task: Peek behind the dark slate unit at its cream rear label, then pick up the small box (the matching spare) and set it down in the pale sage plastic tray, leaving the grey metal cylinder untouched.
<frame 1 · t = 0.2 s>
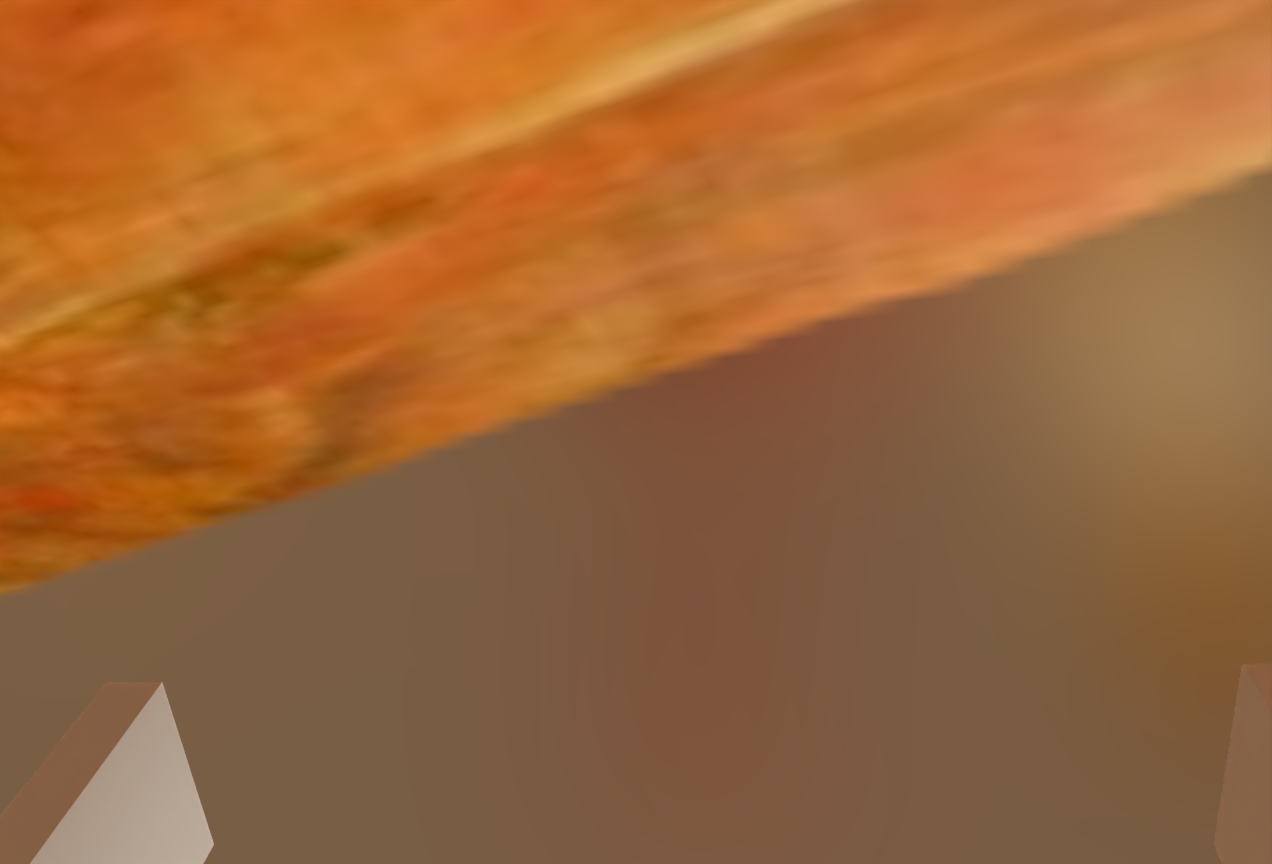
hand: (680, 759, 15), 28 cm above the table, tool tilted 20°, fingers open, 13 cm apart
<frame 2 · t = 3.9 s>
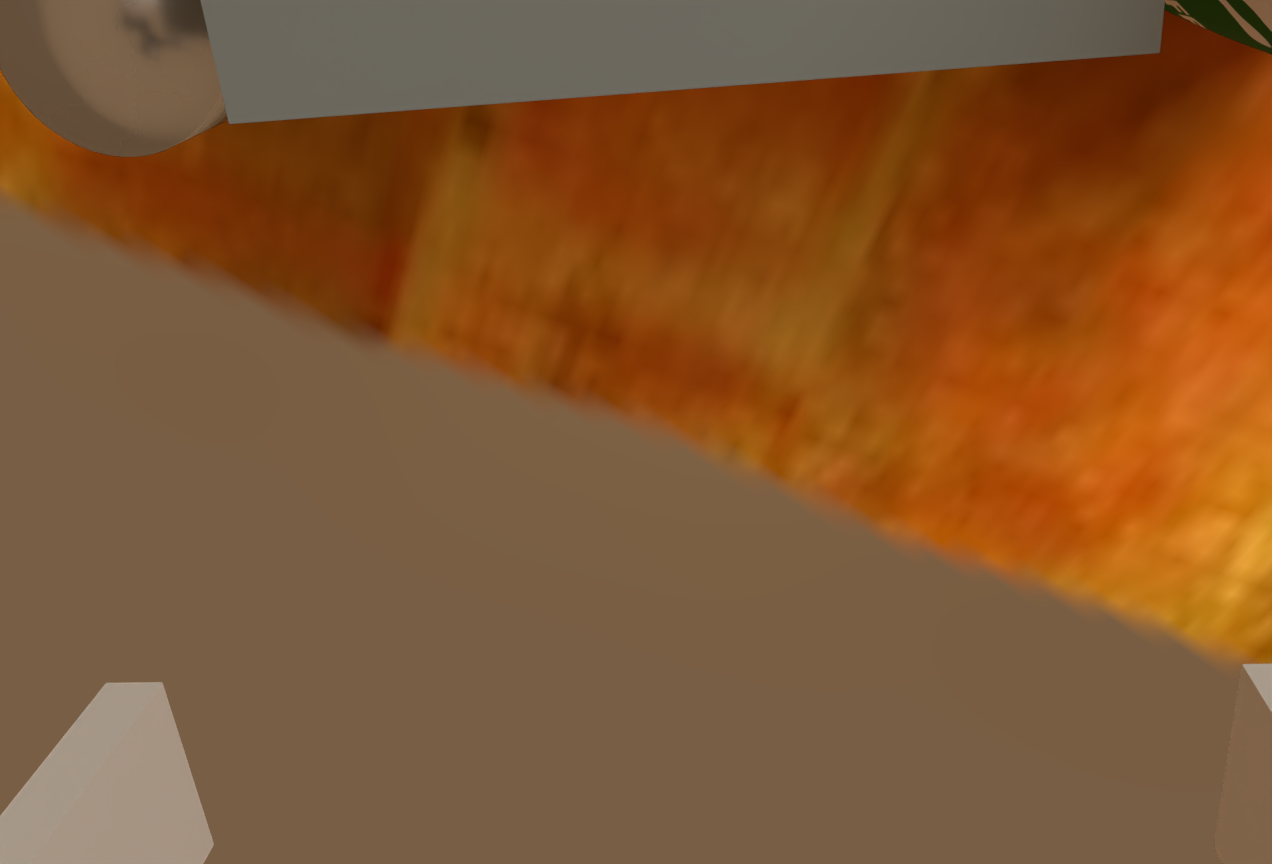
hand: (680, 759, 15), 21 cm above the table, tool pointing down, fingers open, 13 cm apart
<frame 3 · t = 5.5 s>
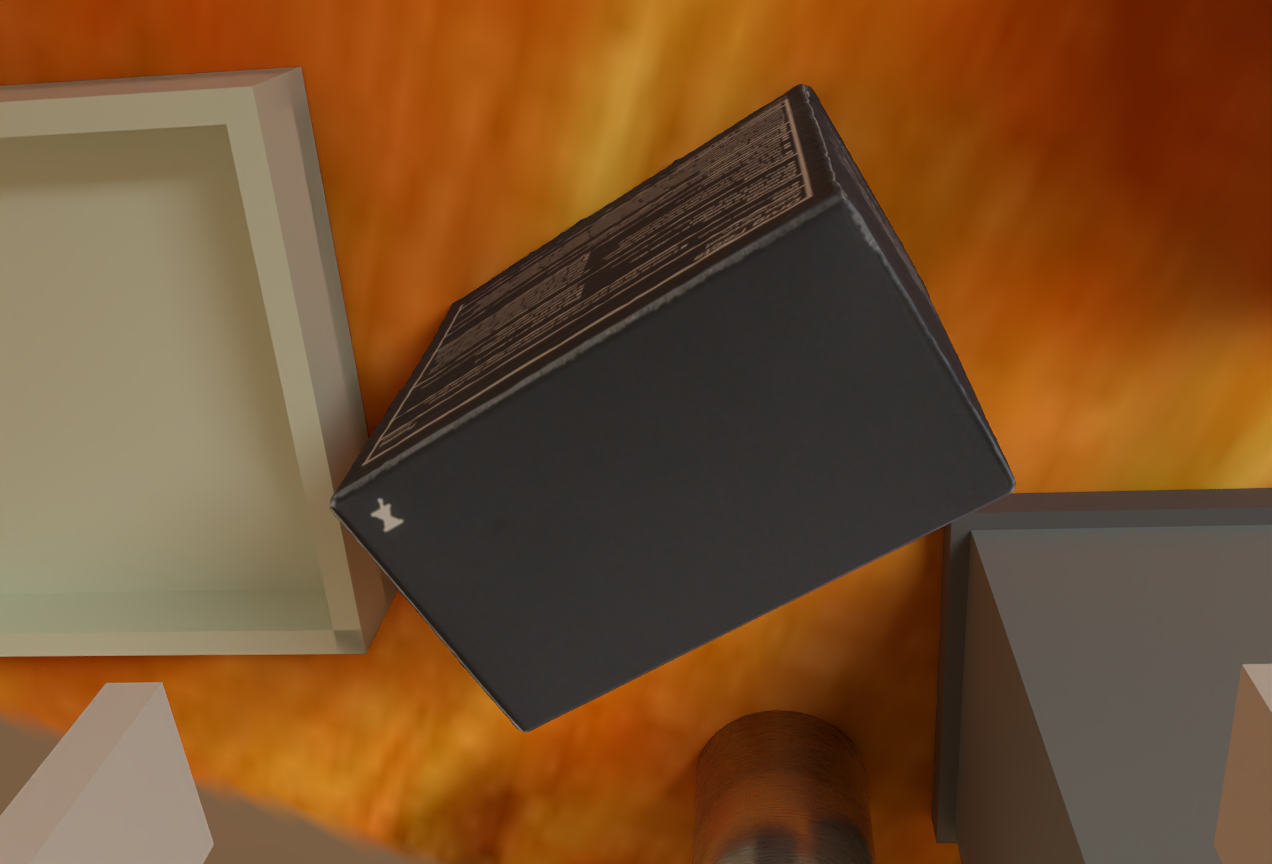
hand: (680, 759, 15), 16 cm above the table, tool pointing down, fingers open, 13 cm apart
small box: (687, 301, 30), on the table
unit: (1217, 666, 32), on the table
grey cylinder: (780, 777, 35), on the table
tray: (55, 365, 32), on the table
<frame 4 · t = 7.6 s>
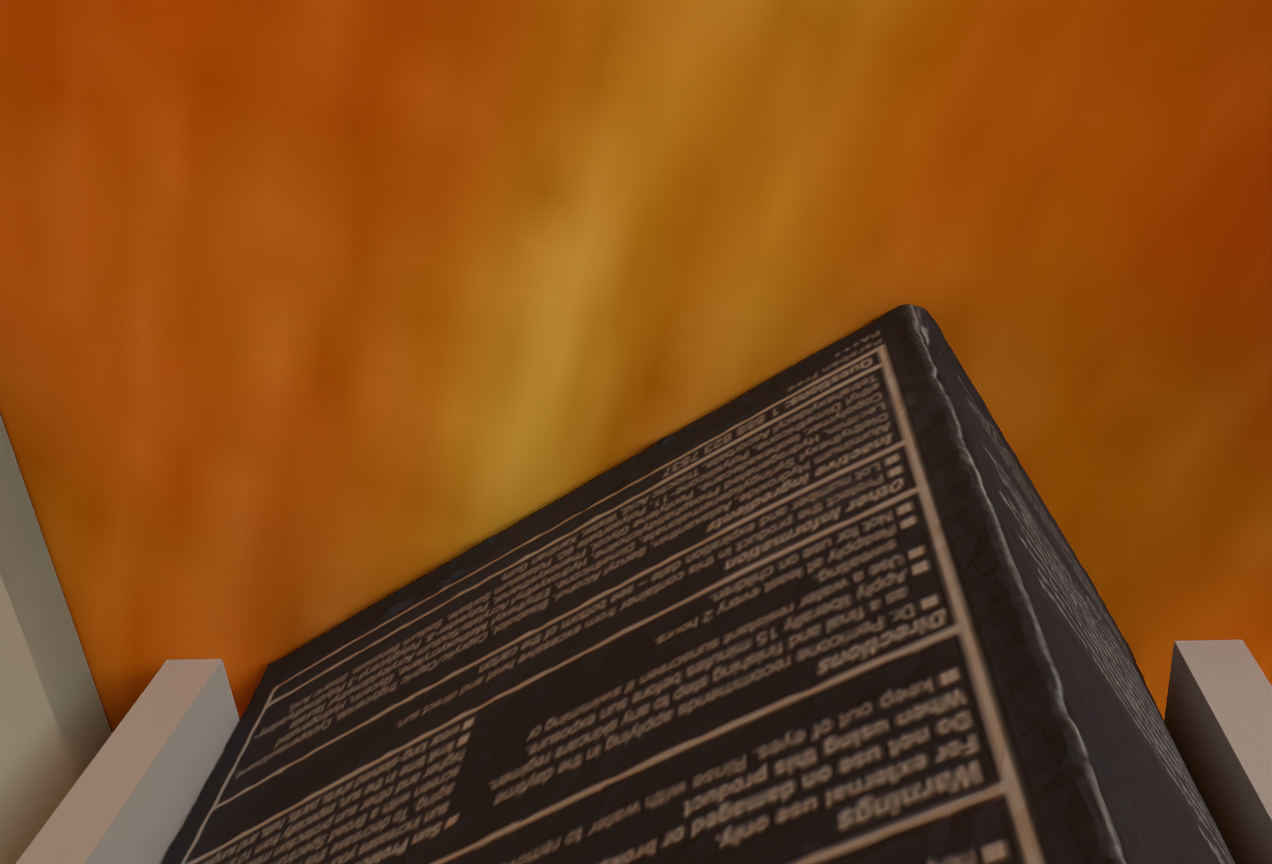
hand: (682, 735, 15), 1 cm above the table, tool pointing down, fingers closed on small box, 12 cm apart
small box: (689, 658, 16), on the table, touching gripper
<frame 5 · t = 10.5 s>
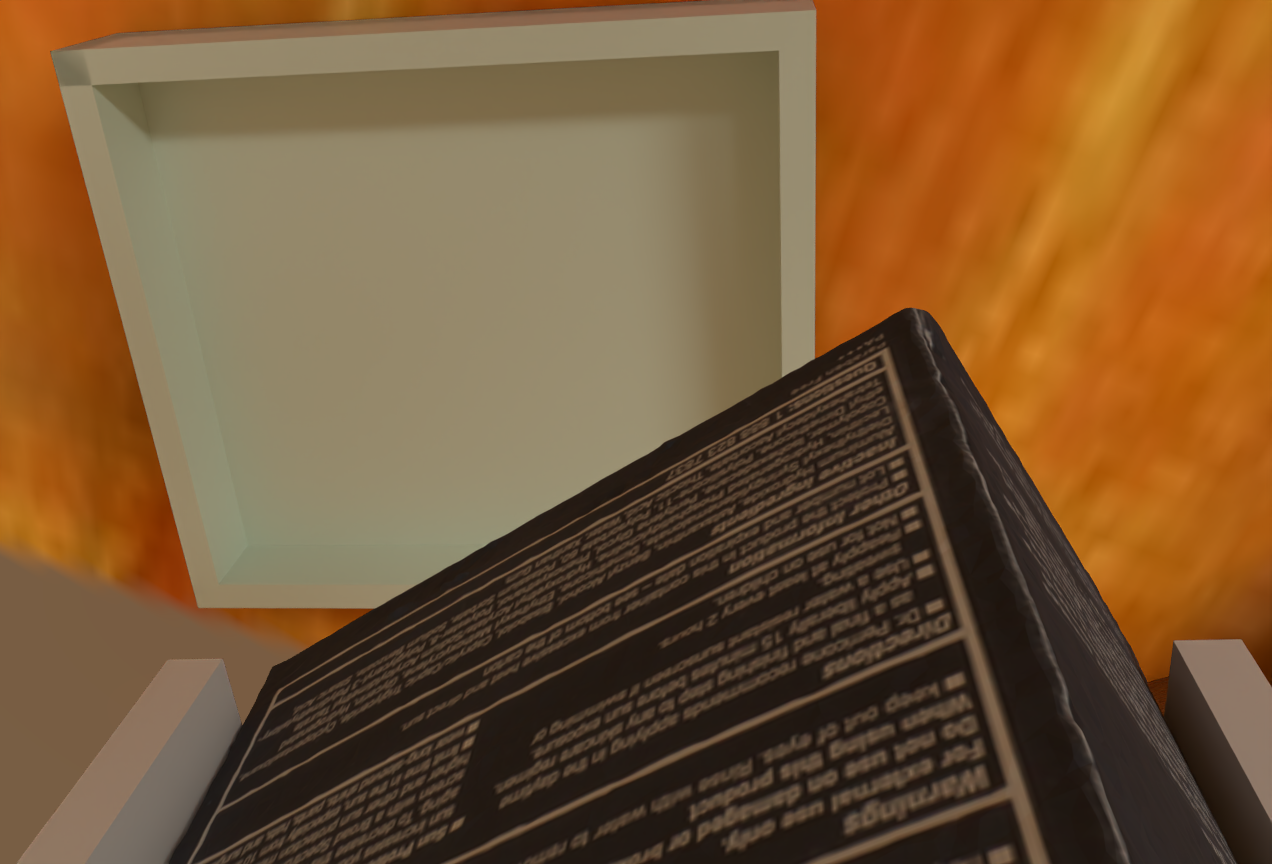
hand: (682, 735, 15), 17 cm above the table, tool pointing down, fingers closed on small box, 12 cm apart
small box: (692, 661, 16), point 15 cm above the table, touching gripper
grey cylinder: (1180, 744, 34), on the table
tray: (488, 309, 31), on the table
when the fingers open (5 cm above the table, at t = 13.7 s): small box drops 2 cm, resting on tray.
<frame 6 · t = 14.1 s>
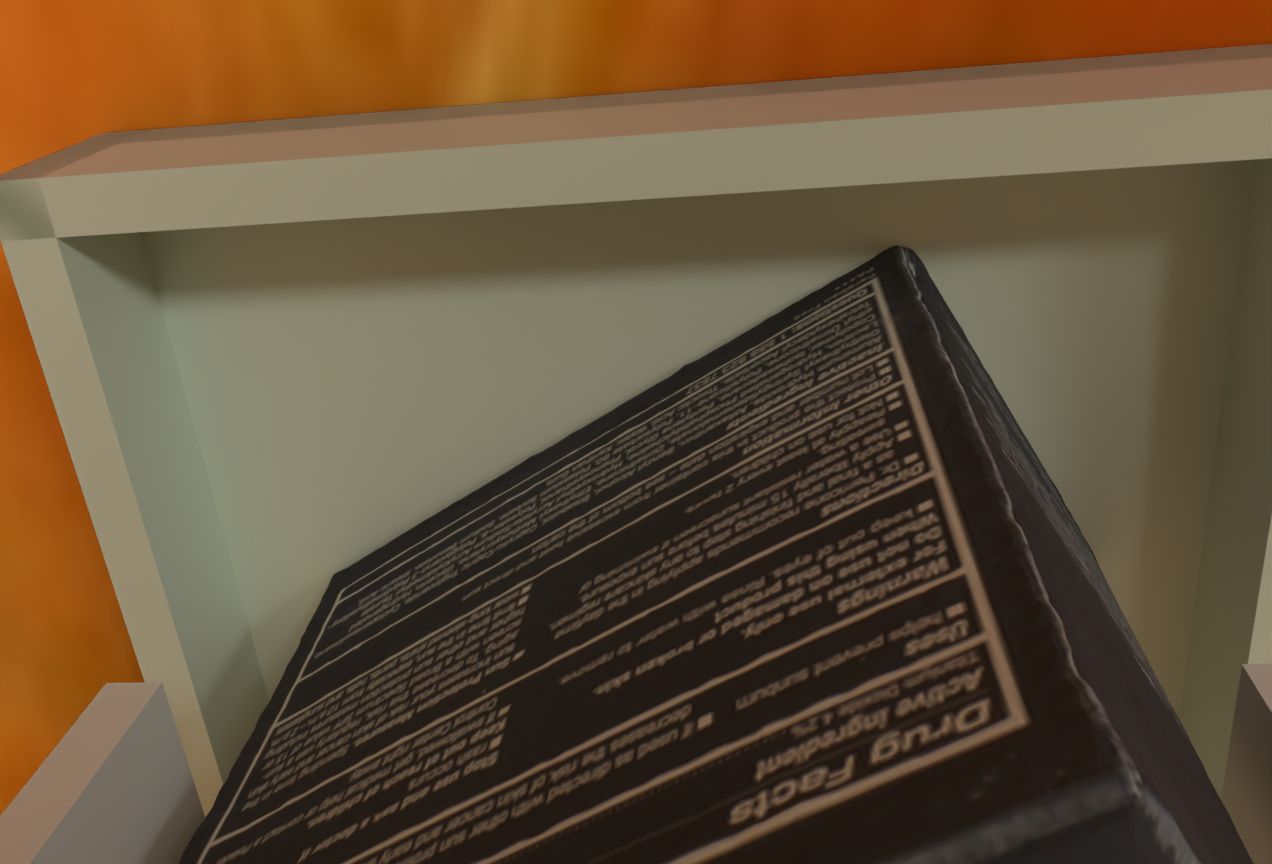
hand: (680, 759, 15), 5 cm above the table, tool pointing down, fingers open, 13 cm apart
small box: (706, 568, 19), point 1 cm above the table, touching tray
tray: (698, 543, 19), on the table
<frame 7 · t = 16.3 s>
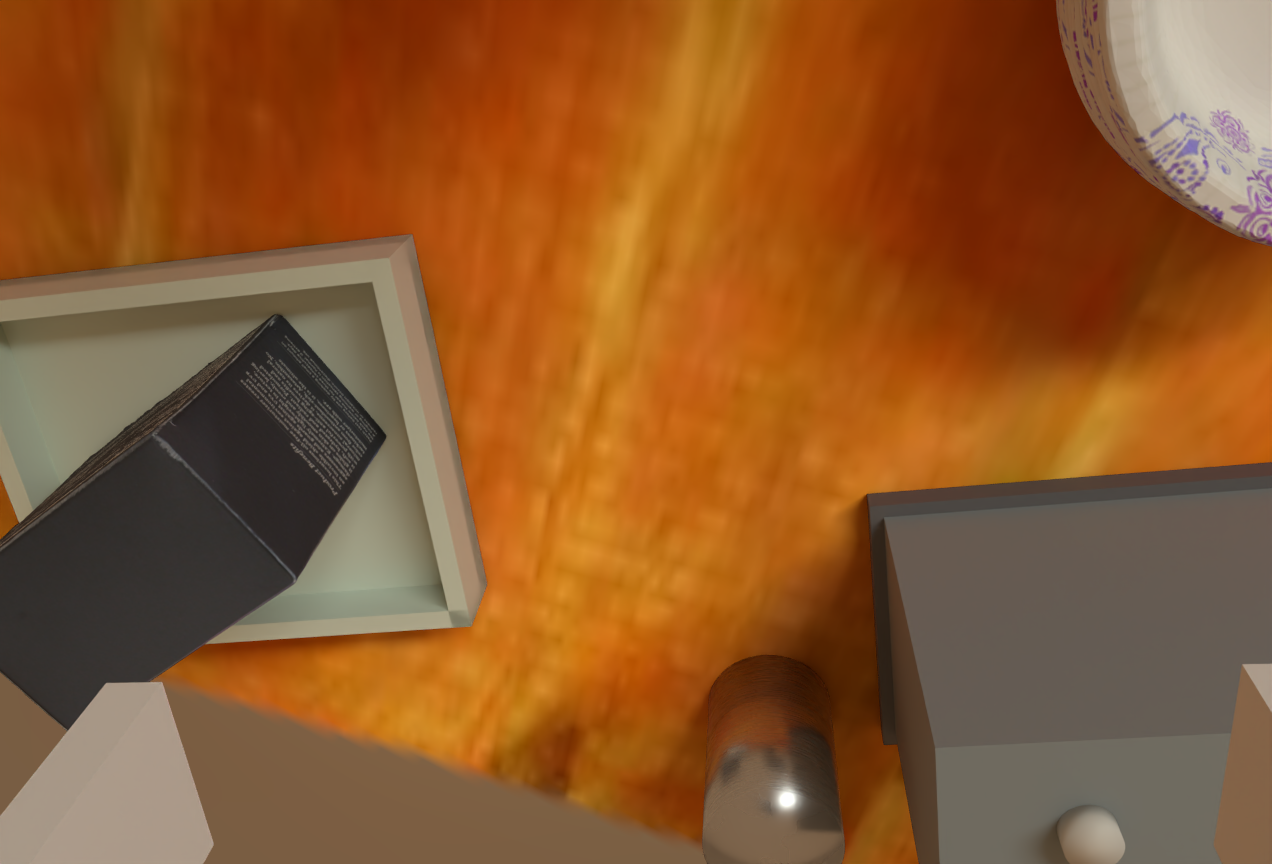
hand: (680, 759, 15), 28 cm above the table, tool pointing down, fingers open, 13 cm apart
small box: (242, 447, 45), point 1 cm above the table, touching tray
unit: (1070, 604, 46), on the table
grey cylinder: (769, 705, 49), on the table
tray: (246, 439, 46), on the table
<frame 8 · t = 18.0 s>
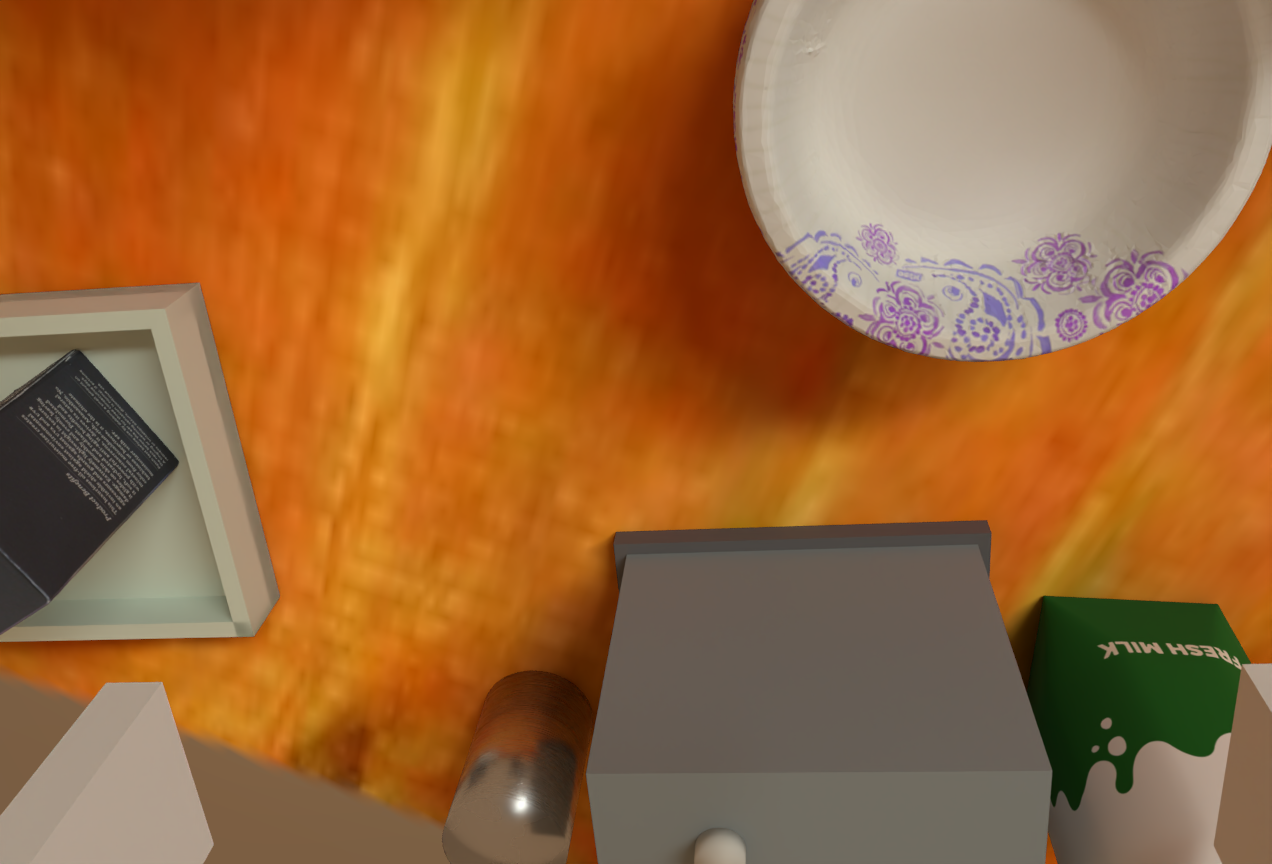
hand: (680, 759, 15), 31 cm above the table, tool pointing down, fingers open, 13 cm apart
small box: (50, 465, 49), point 1 cm above the table, touching tray
paper bowls: (959, 71, 40), on the table
unit: (801, 637, 50), on the table
grey cylinder: (538, 715, 54), on the table
tray: (57, 457, 50), on the table
milk carton: (1112, 667, 50), on the table
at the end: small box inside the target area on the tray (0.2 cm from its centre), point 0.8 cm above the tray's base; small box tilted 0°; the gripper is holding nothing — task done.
